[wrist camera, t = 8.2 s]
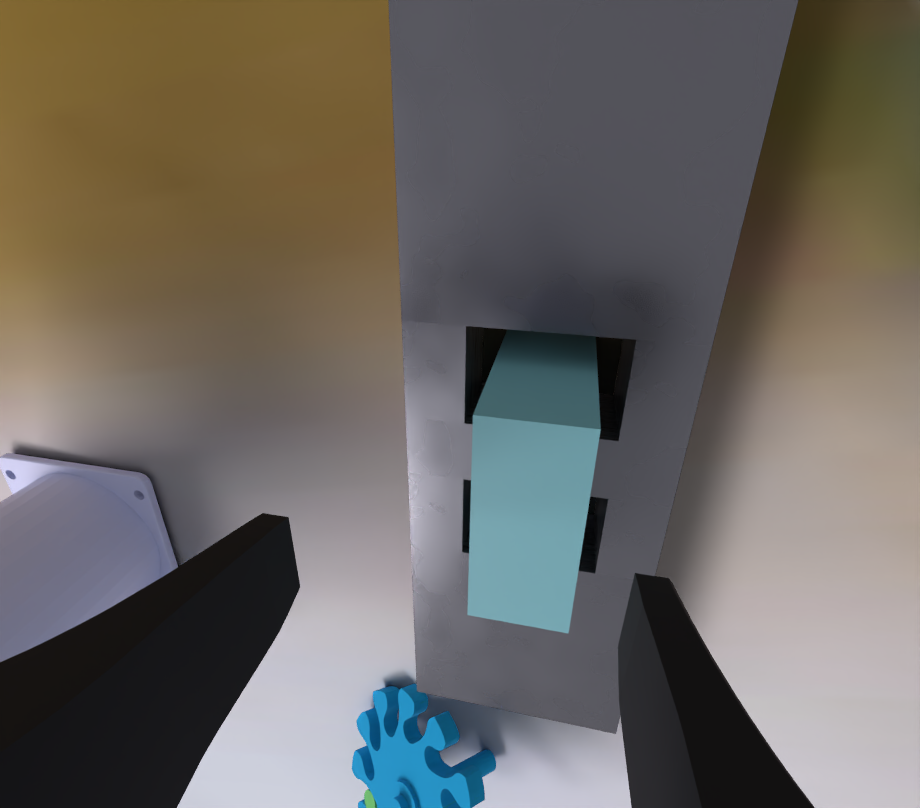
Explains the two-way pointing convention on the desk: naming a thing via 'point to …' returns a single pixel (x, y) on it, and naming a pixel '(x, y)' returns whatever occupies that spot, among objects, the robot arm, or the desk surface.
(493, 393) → the upright aqua box
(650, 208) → the grey board with slots
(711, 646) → the desk surface
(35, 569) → the robot arm
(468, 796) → the blue lumpy piece
